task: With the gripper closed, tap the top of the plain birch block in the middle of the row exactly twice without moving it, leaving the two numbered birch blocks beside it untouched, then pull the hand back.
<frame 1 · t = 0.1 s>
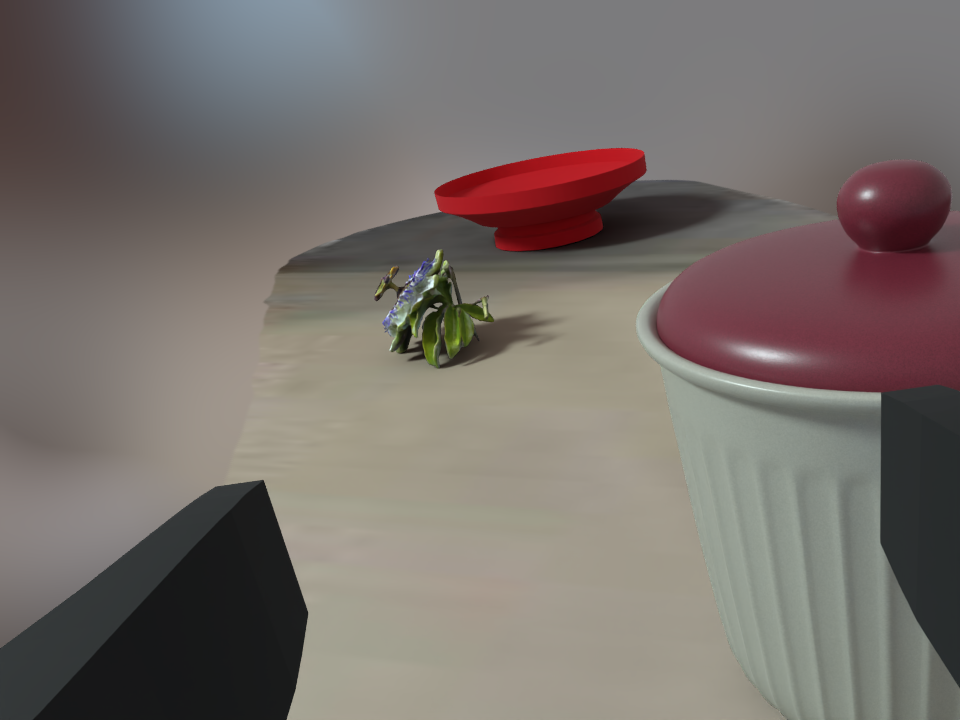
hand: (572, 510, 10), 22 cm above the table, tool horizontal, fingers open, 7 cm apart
bowl: (547, 238, 126), on the table
green leafy plant: (442, 350, 86), on the table
canister: (898, 672, 36), on the table
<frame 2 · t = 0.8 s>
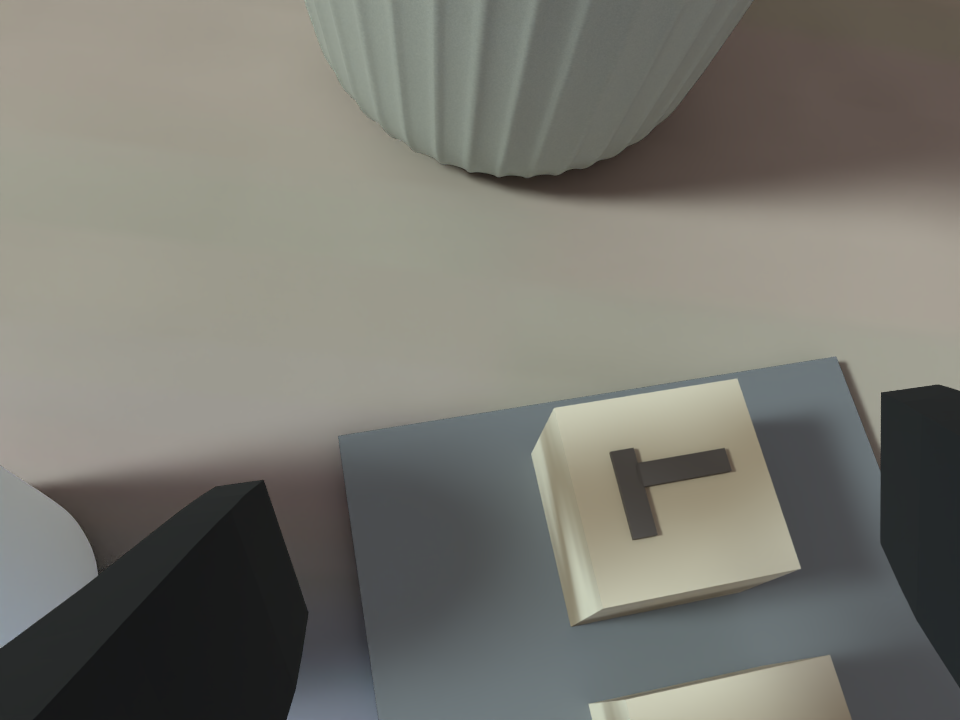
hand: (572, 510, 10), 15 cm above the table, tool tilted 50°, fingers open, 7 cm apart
canister: (502, 57, 32), on the table
block numbered 7: (633, 521, 25), resting on mat
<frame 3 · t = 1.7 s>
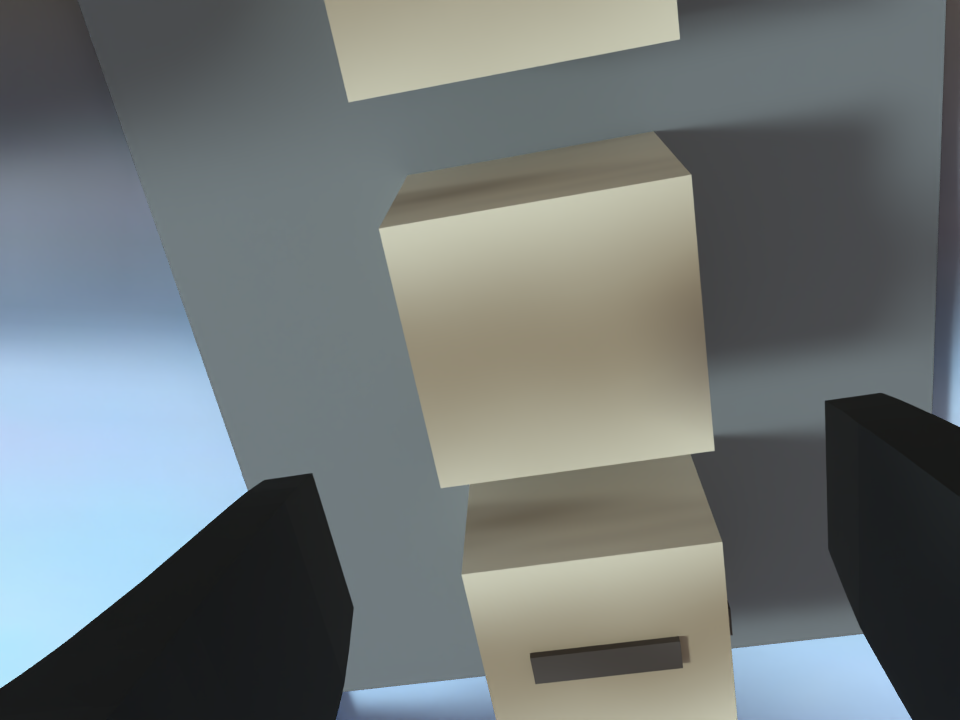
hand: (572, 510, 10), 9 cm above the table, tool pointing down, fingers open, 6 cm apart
block numbered 1: (590, 538, 21), resting on mat
plain block: (547, 270, 18), resting on mat
mat: (546, 263, 19), on the table
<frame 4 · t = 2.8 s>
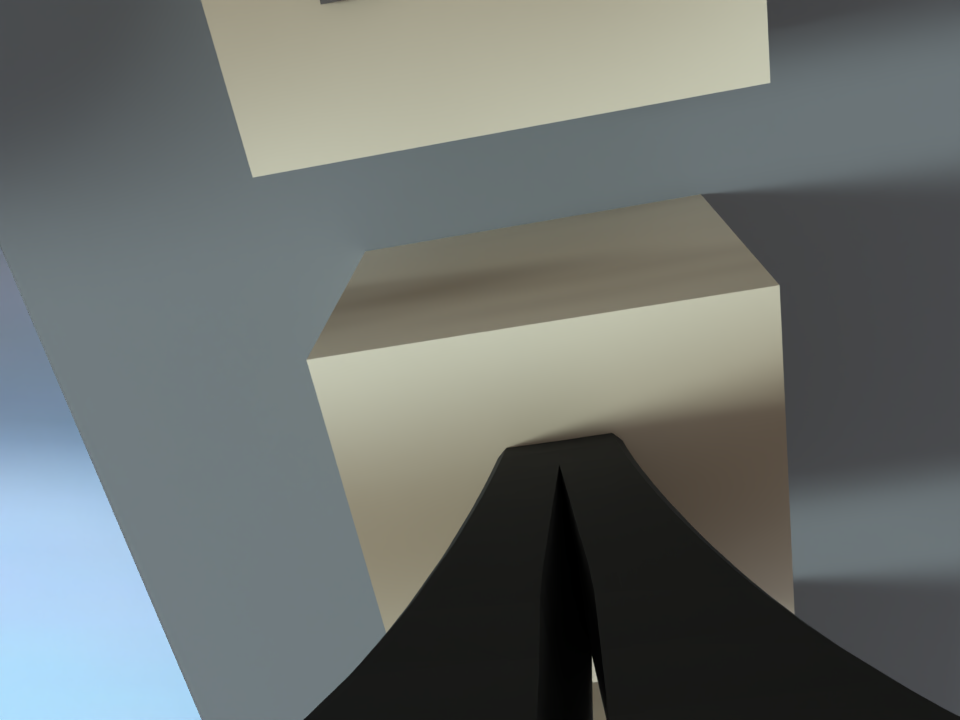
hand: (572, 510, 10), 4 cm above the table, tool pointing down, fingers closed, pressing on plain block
block numbered 1: (608, 700, 16), resting on mat
plain block: (554, 374, 14), resting on mat, touching gripper
mat: (553, 361, 14), on the table
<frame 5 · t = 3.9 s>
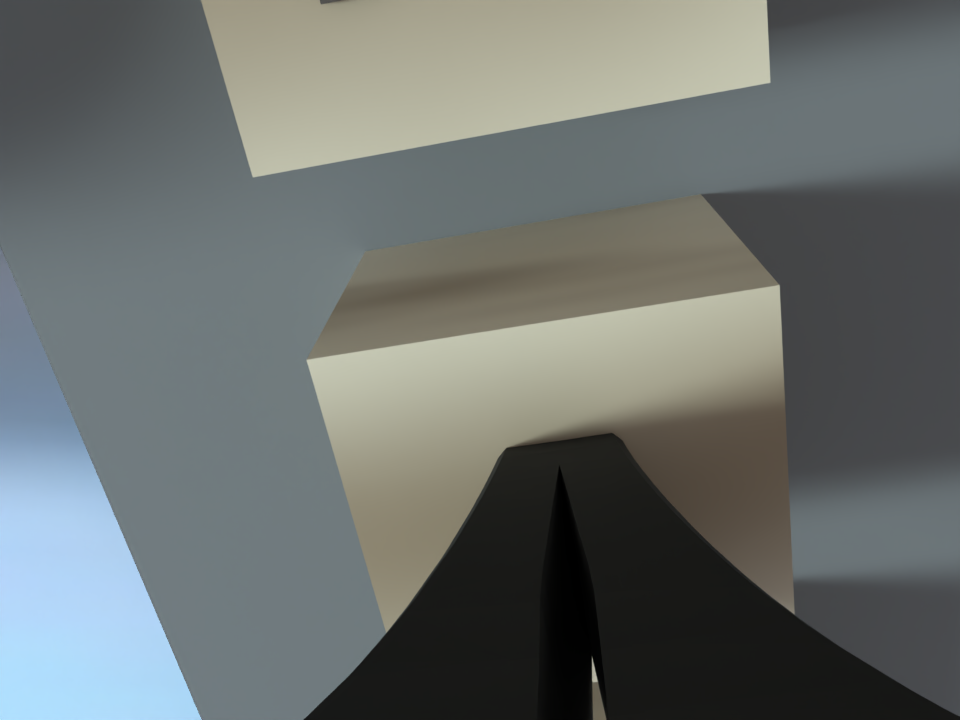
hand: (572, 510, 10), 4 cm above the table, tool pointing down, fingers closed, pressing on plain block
block numbered 1: (608, 700, 16), resting on mat
plain block: (554, 374, 14), resting on mat, touching gripper
mat: (553, 361, 14), on the table
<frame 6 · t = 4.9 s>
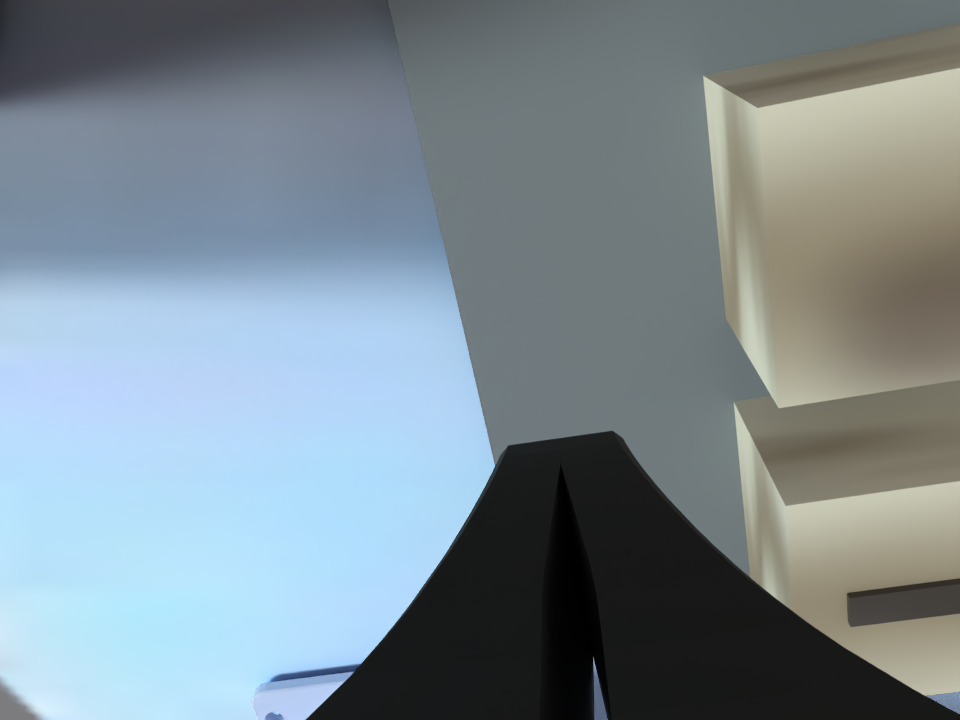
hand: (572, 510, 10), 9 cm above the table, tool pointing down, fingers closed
block numbered 1: (853, 479, 19), resting on mat
plain block: (844, 180, 17), resting on mat
mat: (835, 174, 17), on the table
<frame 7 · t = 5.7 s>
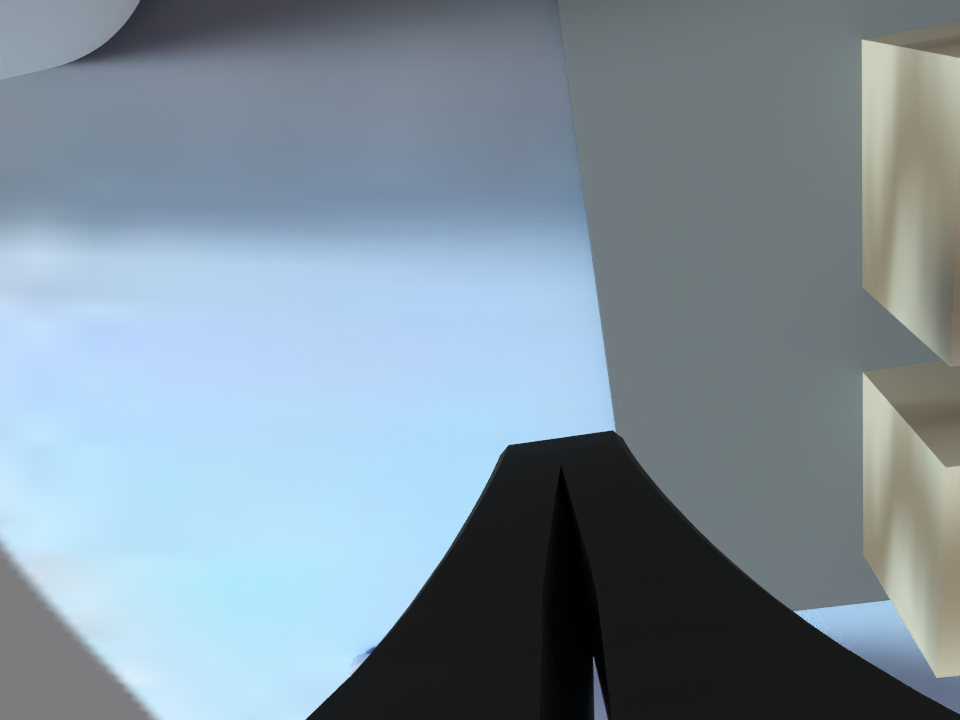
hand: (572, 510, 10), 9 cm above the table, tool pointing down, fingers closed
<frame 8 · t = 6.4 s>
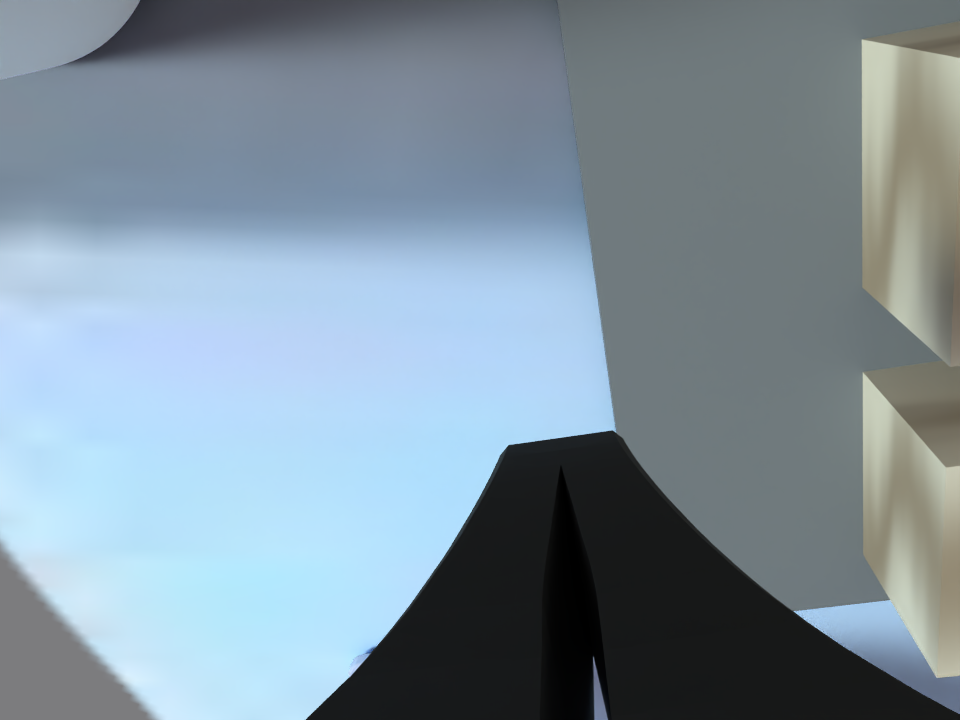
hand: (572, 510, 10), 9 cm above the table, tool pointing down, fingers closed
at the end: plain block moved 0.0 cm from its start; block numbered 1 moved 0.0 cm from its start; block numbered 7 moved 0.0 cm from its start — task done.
